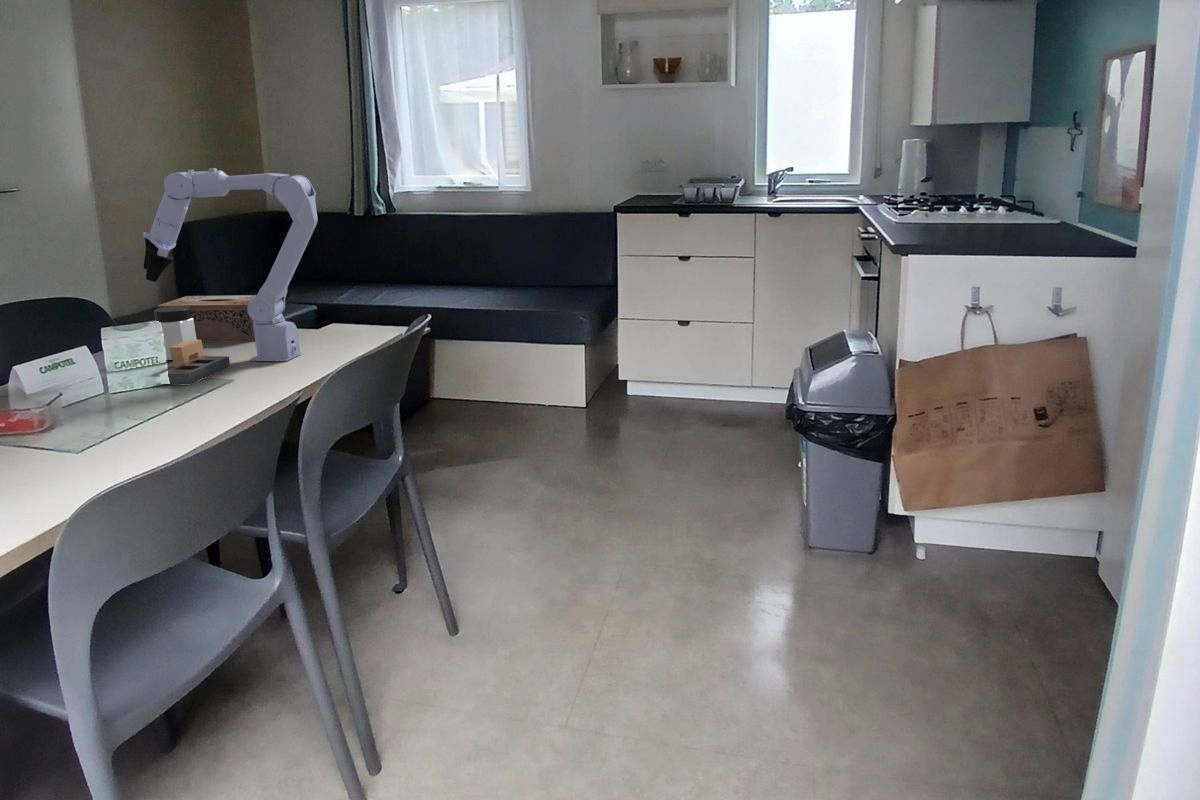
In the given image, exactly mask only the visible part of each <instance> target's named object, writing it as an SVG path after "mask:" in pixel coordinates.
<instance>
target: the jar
mask: <svg viewBox="0 0 1200 800" xmlns="http://www.w3.org/2000/svg"><path fill="white" fill-rule="evenodd" d="M153 314H154V319H155V320H154V321H153V322H154V323H155V321H159V322H161V324H162V328H163V333H164V340H165V346H166V351H167V355H168V358H169V360H172V358H171V353H170V347H172V346H174V345H177V344H180V343H182V342H185V341H188V340H197V339H196V332H195V326H194V320H193V318H191V317H192V315H191V314H192V313H191V309H190V307H189V306H170V307H163V308H159V309H157V308H155V309H154V310H153Z"/></svg>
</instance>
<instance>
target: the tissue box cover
mask: <svg viewBox="0 0 1200 800" xmlns="http://www.w3.org/2000/svg"><path fill="white" fill-rule="evenodd" d="M256 296H257V294H250V295H248V294H247V295H245V294H244V295H241V294H239V295H238V294H237V295H233V294H232V295H185V296H182V297H179V298H176V299H173V300H171V301H170V300H169V301H168V302H164V303H161V304H158V305H156V306H157V308H156V309H159V308H163V307H170V306H189V307H190V309H191V313H192V314H191V315H192V317H191V318H193V320H194V326H195V332H196V339H197V340H202V341H229V342H255V335H254V328H253V319H251V317H250V316H249V314H248V310H247V307H248V304H249V302H250V301H251V300H252V299H253V298H255V297H256Z"/></svg>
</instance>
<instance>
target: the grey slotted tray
mask: <svg viewBox="0 0 1200 800" xmlns="http://www.w3.org/2000/svg"><path fill="white" fill-rule="evenodd" d="M229 368H231V363H230V356H227V355H225V356H224V355H223V356H222V355H221V356H220V355H203V356H200V357H198V358H195V359H193V360H191V361H188V362H186V363H183V364H181V365H178V366H176V367H174V366H173V367H172V368H169V369H167V370H168V377H169V381H170V383H171V384H191V383H194V382H196V381H198V380H200V379H202V378H205V377H207V378H208V376H209V377H211V376H213V375H215V373H216V374H217V372H218V373H220V372H221V371H224V370H226V369H229ZM210 375H211V376H210ZM205 379H206V378H205ZM202 380H203V379H202ZM200 381H201V380H200ZM198 382H199V381H198ZM196 383H197V382H196ZM194 384H195V383H194ZM191 385H192V384H191Z"/></svg>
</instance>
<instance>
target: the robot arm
mask: <svg viewBox="0 0 1200 800" xmlns="http://www.w3.org/2000/svg"><path fill="white" fill-rule="evenodd" d="M163 188H164V193H163V196H162V198H161V201H160V203H159V205H158V208H157V210H156V214H155V217H154V220H153V223H152V225H151V228H150V231H149V233H148V232H145V231H144V232H143V233H142V237H143V238H144V243H145V244H144V246H145V253H144V259H143V269H144V270H146V272H145V279H146V280H147V281H149V282H154V283H155V282H157V281H158V279H159V278H160V276H161V275H162V273H163V271H165V269H166V268H167V267H168V266H169V265H170V264H172V263H173V262H174V256H173V257H172V256H169V252H170V251H171V250H173V249H174V248H176V245H177V240H178V238H179V234H180V231H181V228H182V226H183V223H184V221H185V217H186V215H187V211H188V209H189V206H190V203H191V199H192V198H194V197H195V198H212V197H215V198H216V197H225V196H227V195H228V193H229V192H230V191H233V190H235V191H237V190H238V191H242V190H243V191H244V190H263V191H265V192H266V193H267V194H268V195H270V196H275V197H276V199H277V200H278V202H280V204H282V206H283V207H284V208H285V209H286V210H287V212H288V214H289V216H290V217H291V220H292V223H291V226H290V227H289V229H288V232H287V235H286V236H285V238H284V240H283V243H282V245H281V246H280V250H279V251H278V254H277V256H276V259H275V261H274V262H273V265H272V267H271V269H270V272H269V274H268V275H267V278H266V280H265V282H264V283H263V284H262V286H261V287H260V289H259V290H258V293H257V294H256V295H257V296H256V297H255V298H253V299H252V300H251V301H250V302H249V304H248V307H247V310H248V314H249V316H250V317H251V319H253V328H254V335H255V341H254V342H255V349H256V355H255V356H253V357H251V358H250V359H249V361H250V362H288V361H290V360H292V359H294V358H296V357H298V356H300V355H302V353H303V351H301V349H300V340H299V334H298V333H299V332H298V328H297V325H296V324H295V322H292V321H288V320H285V316H284V315H283V312H284V311H285V308H286V297H287V294H288V287H289V285H290V282H291V281H292V279H293V276H294V274H295V272H296V269H297V268H298V265H299V264H300V261H301V259H302V257H303V255H304V252H305V251H306V248H307V246H308V244H309V241H310V240H311V237H312V235H313V233H314V231H315V228H316V227H317V224H318V221H319V220H318V211H317V210H318V209H317V203H316V196H317V195H316V194H317V193H316V191H315V189H314V187H313V185H312V183H311V182H310V180H309V179H308V178H307V177H306V176H304V175H301V174H295V175H294V174H293V175H290V174H287V173H276V172H274V173H272V172H269V173H255V174H241V175H240V174H239V175H228V173H227V174H226V173H225V171H223V170H218V169H217V168H216V167H211V168H208V170H207V171H206V170H204V171H195V170H194V169H188V170H187V172H186V171H181V172H179V171H178V172H177V171H176V172H174V173H173V172H172V173H170V174H168V175H167V176H166V177H165V178H164V180H163Z"/></svg>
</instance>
